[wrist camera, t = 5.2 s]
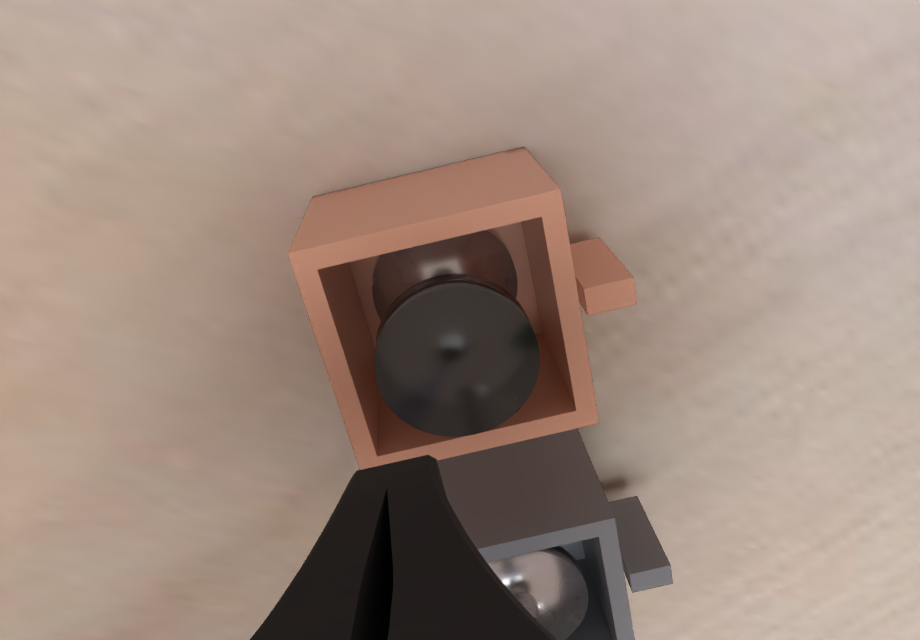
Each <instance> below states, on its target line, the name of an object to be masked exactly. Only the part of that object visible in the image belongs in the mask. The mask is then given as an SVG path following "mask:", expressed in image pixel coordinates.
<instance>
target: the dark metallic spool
mask: <svg viewBox="0 0 920 640" xmlns="http://www.w3.org/2000/svg"><path fill="white" fill-rule="evenodd" d="M517 285H518V281H517V274H516V270H515V266H514V263H513V261H512V258H511V256H510V254H509V252H508V249H507V248H506V246H505V244H504V243H503V241H502V240H501V239H500V238H499V236H498V235H497V234H496V233H495V232H494V231H493V230H491V229H487V230H483V231H479V232H475V233H470V234H466V235H462V236H458V237H453V238H449V239H445V240H441V241H436V242H432V243H428V244H424V245H419V246H415V247H411V248H407V249H402V250H398V251H394V252H390V253H385V254H381V255H378V257H377V260H376V263H375V267H374V272H373V282H372V294H373V301H374V306H375V309H376V311H377V314H378V316H379V318H380V320H381V322H380V325H379V328H378V332H377V336H376V346H375V361H374V370H375V378H376V382H377V386H378V388H379V391H380V394H381V395H382V397H383V399H384V401H385V402H386V404H387V405H388V406H389V408H390V409H391V410H392V411H393V412H394V413H395V414H396V415H397V416H398V417H399V418H400V419H402V420H403V421H404V422H406V423H407V424H409V425H411V426H412V427H414V428H416V429H419V430H421V431H423V432H426V433H430V434H433V435H439V436H447V437H461V436H469V435H475V434H478V433H482V432H485V431H488V430H490V429H492V428H495V427H497V426H498V425H500V424H502V423H504V422H505V421H506V420H508V419H509V418H511V417H512V416H513V415H514V414H515V413H516V412H517V411H518V410H519V409H520V408H521V407H522V406H523V405H524V404H525V402H526V401H527V399H528V398H529V396H530V395H531V393H532V391H533V389H534V387H535V384H536V381H537V378H538V374H539V368H540V352H539V346H538V342H537V338H536V336H535V333H534V331H533V328H532V326H531V324H530V321H529V319H528V317H527V314H526V312H525V311H524V309H523V307H522V306H521V304H520V303H519V302H518V301H517V299H516V297H517Z"/></svg>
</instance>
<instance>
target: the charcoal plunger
mask: <svg viewBox="0 0 920 640" xmlns="http://www.w3.org/2000/svg"><path fill="white" fill-rule="evenodd" d="M487 563H488V565H489V566H490V567H491V569H492V570H493V571H494V573H495V574H496V575H497V576H498V578H499V579H500V580H501V581H502V583H503V584H504V585H505V586H506V587H507V588H508V590H509V591H510V592H511V593H512V594H513V595H514V597H515V598H516V599H517V600H518V601H519V602H520V603H521V604H522V605H523V606H524V607H525V609H526V610H527V611H528V612H529V613H530V614H531V615H532V616H533V617H534V618H535V619H536V620H537V621H538V622H539V623H540V624H541V625H542V626H543V627H544V628H545V629H546V630H548V631H549V632H550V633H551V634H552V635H553V636H554V637H555V638H556V639H557V640H565V639H566V638H568V637H569V636H570V635H571V634H572V633H573V632H574V631H575V630H576V629H577V627H578V626H579V625H580V623H581V622H582V620H583V618H584V616H585V613H586V611H587V606H588V590H587V587H586V583H585V580H584V577H583V574H582V571H581V568H580V566H579V564H578V562H577V561H576V560H575V558H574V557H573V556H572V555H571V554H570V553H569V552H568V551H567V550H565V549H564V548H563V547H561V546H556V547H552V548H547V549H543V550H538V551H534V552H530V553H525V554H521V555H516V556H512V557H508V558H503V559H499V560H494V561H490V562H487Z"/></svg>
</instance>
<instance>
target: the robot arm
mask: <svg viewBox="0 0 920 640" xmlns="http://www.w3.org/2000/svg"><path fill="white" fill-rule="evenodd" d="M250 640H557V639H556V638H555V637H554V636H553V635H552V634H551V633H550V632H549V631H548V630H546V629H545V628H544V627H543V626H542V625H541V624H540V623H539V622H538V621H537V620H536V619H535V618H534V617H533V616H532V615H531V614H530V613H529V612H528V611H527V610H526V609H525V607H524V606H523V605H522V604H521V603H520V602H519V601H518V600H517V599H516V598H515V597H514V595H513V594H512V593H511V592H510V591H509V590H508V588H507V587H506V586H505V585H504V584H503V583H502V581H501V580H500V579H499V578H498V576H497V575H496V574H495V573H494V571H493V570H492V569H491V567H490V566H489V565H488V563H487V562H486V561H485V559H484V558H483V556H482V555H481V554H480V552H479V551H478V549H477V548H476V546H475V545H474V544H473V542H472V540H471V539H470V537H469V536H468V534H467V533H466V531H465V529H464V528H463V526H462V524H461V522H460V521H459V519H458V517H457V516H456V514H455V512H454V510H453V508H452V506H451V505H450V503H449V501H448V498H447V496H446V492H445V489H444V485H443V481H442V478H441V474H440V470H439V467H438V463H437V459H435V458H434V457H432V456H430V455H424V456H420V457H415V458H411V459H407V460H402V461H398V462H393V463H389V464H384V465H380V466H376V467H371V468H367V469H362V470H358V471H356V472H355V474H354V475H353V477H352V478H351V480H350V482H349V484H348V485H347V487H346V489H345V491H344V493H343V495H342V497H341V499H340V501H339V503H338V504H337V506H336V508H335V510H334V512H333V514H332V515H331V517H330V519H329V521H328V523H327V525H326V526H325V528H324V530H323V532H322V533H321V535H320V537H319V538H318V540H317V542H316V543H315V545H314V547H313V549H312V550H311V552H310V554H309V555H308V557H307V559H306V560H305V562H304V564H303V565H302V567H301V568H300V570H299V571H298V573H297V574H296V576H295V577H294V579H293V580H292V582H291V583H290V585H289V586H288V588H287V589H286V591H285V592H284V594H283V595H282V597H281V598H280V600H279V602H278V603H277V604H276V606H275V607H274V609H273V610H272V611H271V613H270V614H269V616H268V617H267V618H266V620H265V621H264V622H263V624H262V625H261V626H260V628H259V629H258V630H257V632H256V633H255V634H254V635H253V636H252V638H251V639H250Z"/></svg>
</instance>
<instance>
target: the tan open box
mask: <svg viewBox="0 0 920 640" xmlns="http://www.w3.org/2000/svg"><path fill="white" fill-rule="evenodd" d="M487 229H491V230H493V231H494V232H495V233H496V234H497V235H498V236H499V238H500V239H501V240H502V241H503V243H504V244H505V246H506V248H507V249H508V252H509V254H510V256H511V258H512V261H513V263H514V266H515V270H516V274H517V281H518V285H517V297H516V299H517V301H518V302H519V303H520V304H521V306H522V307H523V309H524V311H525V312H526V314H527V317H528V319H529V321H530V324H531V326H532V328H533V331H534V333H535V336H536V338H537V342H538V346H539V352H540V368H539V374H538V378H537V381H536V384H535V387H534V389H533V391H532V393H531V395H530V396H529V398H528V399H527V401H526V402H525V404H524V405H523V406H522V407H521V408H520V409H519V410H518V411H517V412H516V413H515V414H514V415H513V416H512V417H511V418H509V419H508V420H506V421H505V422H504V423H502V424H500V425H498V426H497V427H495V428H492V429H490V430H488V431H485V432H482V433H478V434H475V435H469V436H461V437H447V436H439V435H433V434H430V433H426V432H423V431H421V430H419V429H416V428H414V427H412V426H411V425H409V424H407V423H406V422H404V421H403V420H402V419H400V418H399V417H398V416H397V415H396V414H395V413H394V412H393V411H392V410H391V409H390V408H389V406H388V405H387V404H386V402H385V401H384V399H383V397H382V395H381V394H380V391H379V388H378V386H377V382H376V378H375V370H374V361H375V346H376V336H377V332H378V328H379V325H380V322H381V320H380V318H379V316H378V314H377V311H376V309H375V306H374V301H373V294H372V282H373V272H374V267H375V263H376V260H377V257H378V255H381V254H385V253H390V252H394V251H398V250H402V249H407V248H411V247H415V246H419V245H424V244H428V243H432V242H436V241H441V240H445V239H449V238H453V237H458V236H462V235H466V234H470V233H475V232H479V231H483V230H487ZM288 256H289V259H290V262H291V265H292V268H293V271H294V274H295V277H296V280H297V283H298V286H299V289H300V292H301V295H302V298H303V301H304V304H305V307H306V310H307V313H308V316H309V319H310V322H311V325H312V328H313V331H314V334H315V337H316V340H317V343H318V346H319V349H320V351H321V354H322V357H323V360H324V363H325V366H326V369H327V372H328V375H329V378H330V381H331V384H332V387H333V390H334V393H335V396H336V399H337V402H338V405H339V408H340V411H341V414H342V417H343V420H344V423H345V426H346V429H347V432H348V435H349V438H350V441H351V444H352V447H353V450H354V453H355V456H356V459H357V462H358V465H359V468H360V470H362V469H367V468H371V467H376V466H380V465H384V464H389V463H393V462H398V461H402V460H407V459H411V458H415V457H420V456H424V455H430V456H432V457H434V458H435V459H437V460H441V459H446V458H450V457H455V456H459V455H463V454H468V453H472V452H476V451H481V450H485V449H489V448H494V447H498V446H502V445H507V444H511V443H515V442H520V441H524V440H528V439H533V438H537V437H541V436H546V435H550V434H555V433H559V432H563V431H568V430H572V429H576V428H581V427H585V426H589V425H594V424H598V423H599V419H598V413H597V406H596V400H595V394H594V388H593V382H592V376H591V370H590V364H589V358H588V352H587V346H586V340H585V333H584V327H583V321H582V315H581V309H580V303H581V305H582V306H583V308H584V310H585V311H586V313H587V315H592V314H597V313H601V312H605V311H610V310H614V309H618V308H623V307H627V306H631V305H635V304H637V300H636V292H635V284H634V277H633V276H632V275H631V274H630V273H629V271H628V270H627V269H626V268H625V267H624V266H623V264H622V263H621V262H620V261H619V260H618V259H617V257H616V256H615V255H614V254H613V253H612V252H611V250H610V249H609V248H608V247H607V246H606V245H605V244H604V242H603V241H602V240H601V239H600V238H594V239H590V240H586V241H582V242H577V243H573V244H570V242H569V236H568V230H567V224H566V218H565V212H564V206H563V200H562V194H561V189H560V188H559V186H558V185H557V184H556V183H555V182H554V181H553V180H552V178H551V177H550V176H549V175H548V174H547V173H546V172H545V170H544V169H543V168H542V167H541V166H540V165H539V164H538V163H537V161H536V160H535V159H534V158H533V157H532V156H531V155H530V153H529V152H528V151H527V150H526V149H525V148H524V147H521V148H517V149H513V150H509V151H504V152H500V153H496V154H492V155H487V156H483V157H479V158H475V159H471V160H466V161H462V162H458V163H454V164H449V165H445V166H441V167H437V168H433V169H428V170H424V171H420V172H416V173H412V174H407V175H403V176H399V177H395V178H390V179H386V180H382V181H378V182H374V183H369V184H365V185H361V186H357V187H352V188H348V189H344V190H340V191H336V192H331V193H327V194H323V195H319V196H315V197H313V198H312V200H311V202H310V205H309V207H308V209H307V211H306V213H305V216H304V218H303V220H302V222H301V225H300V227H299V229H298V231H297V234H296V236H295V238H294V240H293V243H292V245H291V247H290V249H289V252H288ZM579 302H580V303H579Z"/></svg>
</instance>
